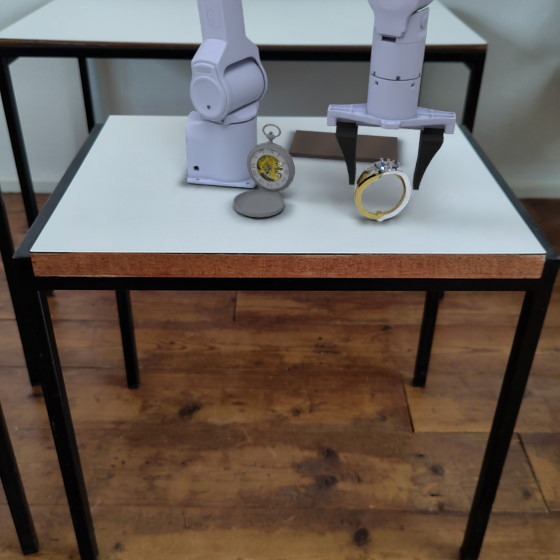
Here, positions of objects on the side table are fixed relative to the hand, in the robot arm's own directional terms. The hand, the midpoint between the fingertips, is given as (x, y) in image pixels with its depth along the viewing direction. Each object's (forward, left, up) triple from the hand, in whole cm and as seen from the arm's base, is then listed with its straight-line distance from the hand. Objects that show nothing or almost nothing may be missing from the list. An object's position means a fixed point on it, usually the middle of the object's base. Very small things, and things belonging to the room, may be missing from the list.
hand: (383, 184), depth 84 cm
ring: (0, 0, -5) cm, 5 cm away
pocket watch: (-15, +2, -5) cm, 16 cm away
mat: (-6, +22, -5) cm, 23 cm away
